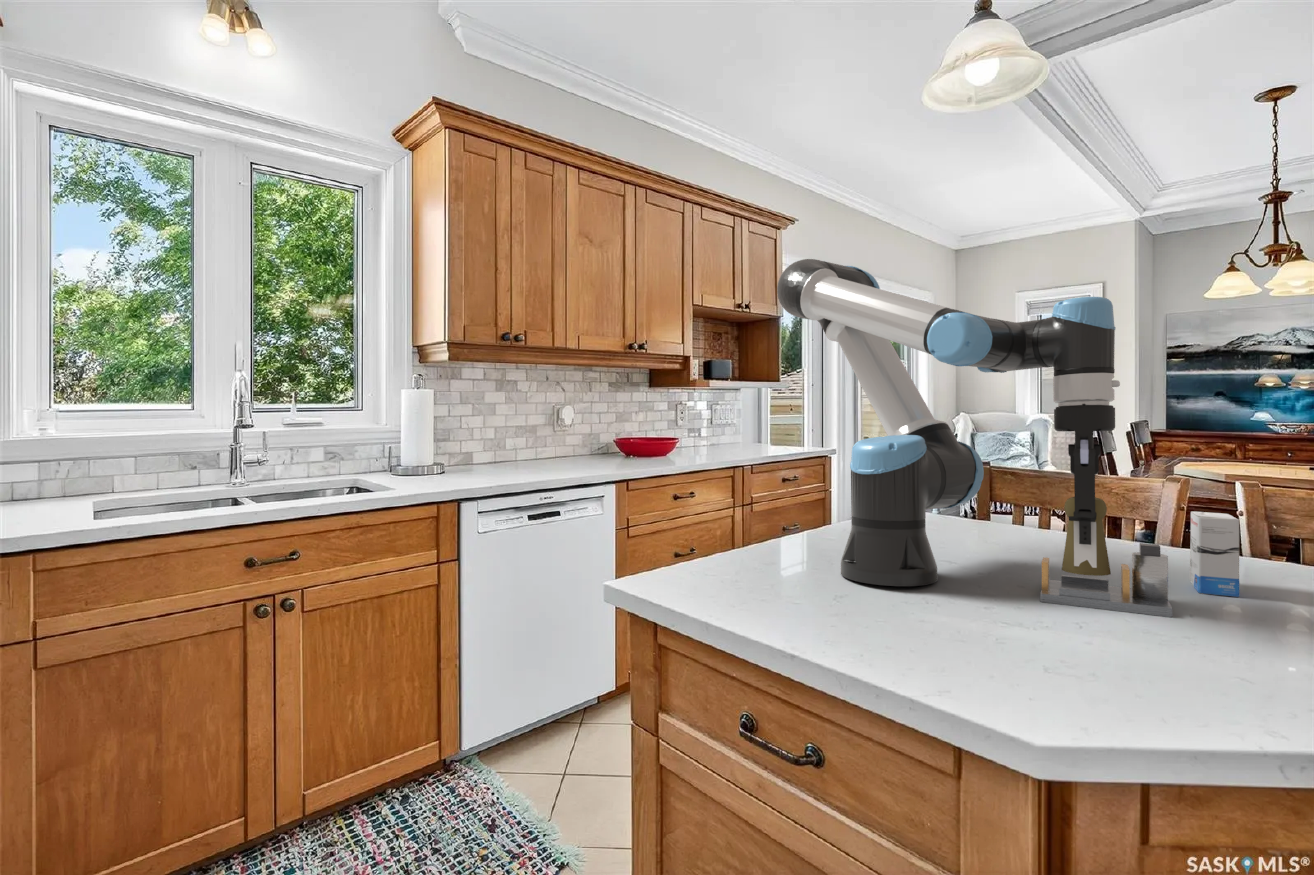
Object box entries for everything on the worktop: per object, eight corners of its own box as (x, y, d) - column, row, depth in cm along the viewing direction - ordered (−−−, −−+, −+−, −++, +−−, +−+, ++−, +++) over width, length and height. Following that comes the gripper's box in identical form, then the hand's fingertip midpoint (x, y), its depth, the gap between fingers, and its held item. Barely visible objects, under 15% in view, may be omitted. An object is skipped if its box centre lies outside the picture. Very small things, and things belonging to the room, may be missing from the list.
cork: (1119, 576, 92) (1118, 498, 92) (1071, 574, 93) (1071, 498, 93) (1099, 568, 98) (1098, 494, 98) (1055, 566, 99) (1054, 494, 99)
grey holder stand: (1040, 601, 94) (1040, 542, 94) (1044, 586, 103) (1044, 532, 103) (1172, 617, 86) (1172, 552, 86) (1163, 599, 95) (1163, 540, 95)
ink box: (1241, 598, 96) (1241, 518, 96) (1197, 594, 99) (1197, 516, 99) (1228, 586, 103) (1228, 512, 103) (1188, 583, 106) (1188, 510, 106)
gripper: (1117, 401, 87) (1119, 577, 87) (1113, 405, 101) (1114, 557, 101) (1051, 403, 91) (1052, 571, 91) (1056, 407, 105) (1057, 552, 105)
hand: (1085, 563), depth 96 cm, fingers closed on cork, 4 cm apart
